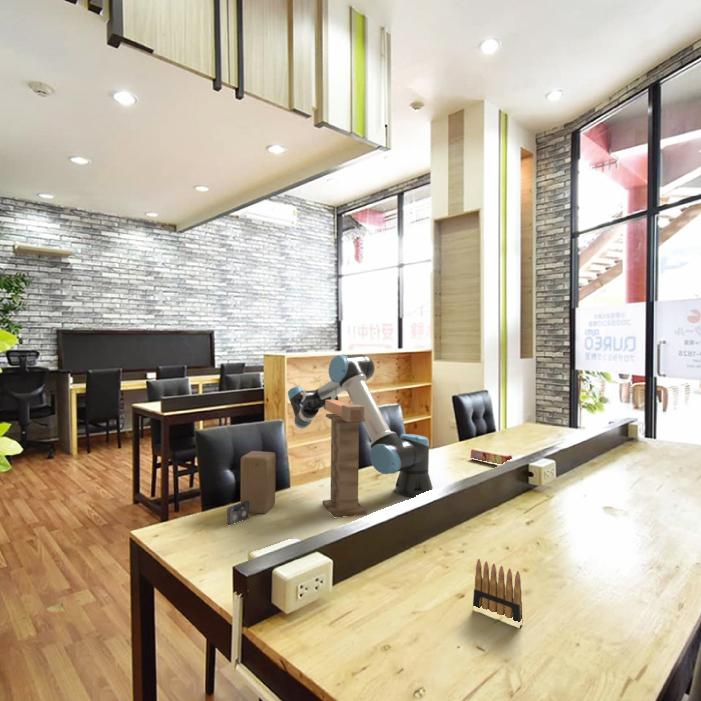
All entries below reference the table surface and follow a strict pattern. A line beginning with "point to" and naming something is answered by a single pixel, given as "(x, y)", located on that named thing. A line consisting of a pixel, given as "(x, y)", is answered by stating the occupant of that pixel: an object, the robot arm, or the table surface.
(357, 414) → the terracotta bar
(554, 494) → the table surface
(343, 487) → the walnut stand
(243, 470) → the wooden block
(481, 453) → the red printed rectangular box
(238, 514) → the mini dv tape
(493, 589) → the ammunition clip
